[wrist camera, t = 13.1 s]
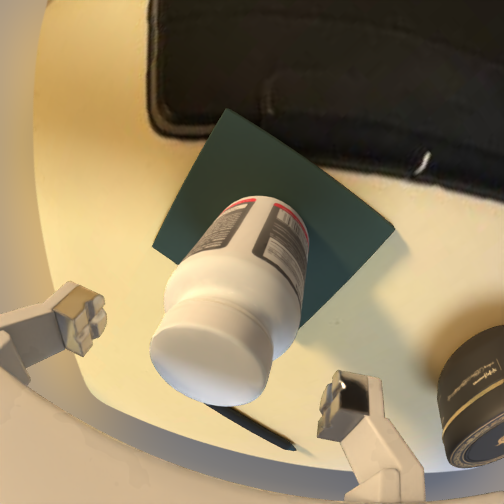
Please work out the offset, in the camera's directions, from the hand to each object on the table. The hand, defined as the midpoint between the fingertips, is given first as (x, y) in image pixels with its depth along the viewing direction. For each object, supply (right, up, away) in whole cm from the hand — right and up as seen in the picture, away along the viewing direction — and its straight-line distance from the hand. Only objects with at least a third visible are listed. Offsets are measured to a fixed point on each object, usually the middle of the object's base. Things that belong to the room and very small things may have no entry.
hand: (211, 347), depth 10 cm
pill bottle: (+2, +4, +8) cm, 9 cm away
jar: (+21, -6, +9) cm, 23 cm away
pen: (0, -13, +18) cm, 22 cm away
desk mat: (+2, +4, +8) cm, 10 cm away
